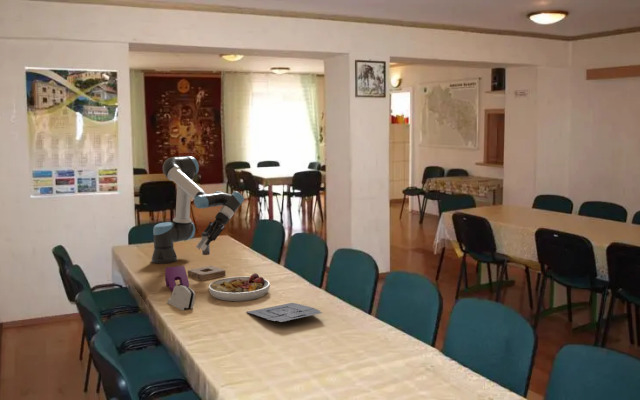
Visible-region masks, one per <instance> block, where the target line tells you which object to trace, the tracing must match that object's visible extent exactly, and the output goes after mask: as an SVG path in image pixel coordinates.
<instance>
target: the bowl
mask: <svg viewBox="0 0 640 400" xmlns="http://www.w3.org/2000/svg"><path fill="white" fill-rule="evenodd" d="M270 286H271V285H270V281H269V280H267V279H265V278H264V277H262V276H260V275H259V274H258V273H255V272H254V273H252V274H251V275H250V276H232V277H231V276H230V277H224V278H222V279H217V280H214V281H212V282H211V283H209V285H208V291H209V293H210V295H211V296H212V297H213V298H215V299H218V300H222V301H226V302H245V301H246V302H247V301H251V300H255V299H258V298H260V297H263V296H265V295H266V294H267V293H268V292H269V290H270Z"/></svg>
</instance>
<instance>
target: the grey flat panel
mask: <svg viewBox="0 0 640 400" xmlns="http://www.w3.org/2000/svg"><path fill="white" fill-rule="evenodd" d="M246 313H248V314H251V315H255V316H257V317H259V318H260V317H261V318H263V319H265V320H268V321H272V322H273V321H274V322H276V321H277V322H280V323H282V322H287V321H288V322H289V321H291V320H296V319H301V318H305V317H310V316H314V315H319V314H323V312H322V311H321V310H319V309H318V308H315V307H311V306H307V305H304V304H300V303H295V302H289V303H284V304H279V305H275V306H269V307H265V308H261V309H259V308H258V309H254V310H253V309H252V310H249V311H246Z"/></svg>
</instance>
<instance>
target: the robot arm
mask: <svg viewBox="0 0 640 400" xmlns="http://www.w3.org/2000/svg"><path fill="white" fill-rule="evenodd" d="M199 168H200V166H199V162H198V160H197V159H196V158H195V157H194V156H189V155H185V156H172V157H169V158H166V160H165V161H164V162H163V165H162V173H163V175H164V176H165V177H166V179H168V180H169V181H172V182H174V183H175V184H176V186H177V187H176V199H175V200H176V205H175V216H174V218H173V219H172V222H171V221H166V222H160V223H157V224H155V225H154V226H153V228H152V229H153V230H152V231H153V232H152V234H153V251H152V252H153V253H152V255H151V263H153V264H171V263H174V262H176V261H177V260H178V256H177V253H176V251H175V248H174V244H175V243H178V242H183V241H184V242H185V241H188V240H190V239H192V238H193V237H195V233H196V226H195V224H194V222H193V221H192V219H191V217H190V216H191V215H190V214H191V200H193V204H194V206H195V207H196V208H197V209H207V208H213V207H221V208H220V210H219V211H218V212H217V213H216V215H215V217H214V218H215V220H214V221H213V222H211V221H210V222H209V223H208V225H207V226H206V228H204V230H203V232H209V237H207V238H208V239H206V240H205V242H204V243H203V244H202V238H200V240H199V241H198V243H197V244H196V245H195V247H196V249H198V250H203V251H204V250H205V249H206V247H207V246H208V245H209V246H210V244H211V242H215V241H216V239H217V238H218V237H219V236H220V234H221V233H222V232H223V231H224V229H226V227H225V226H226V225H228V222H230V219H232V217H233V215H234V214H235V213H236V212H237V210H238V209H239V208H240V206H241V205H242V204H243V202H244V201H245V197H244V196H243V195H242V194H241V193H240V192H239V191H236V190H235V191H233V192H232V193H231V194H230V193H226V192H224V191H220V190H216V191H215V192H213V193H208V192H206V191H204V189H202V188H201V187H200V186H199V185H198V184H197V183H195V181H193V180H194V179H195V175H197V174H198V173H199V170H200V169H199ZM200 236H201V237H202V234H201V235H200Z"/></svg>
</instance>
